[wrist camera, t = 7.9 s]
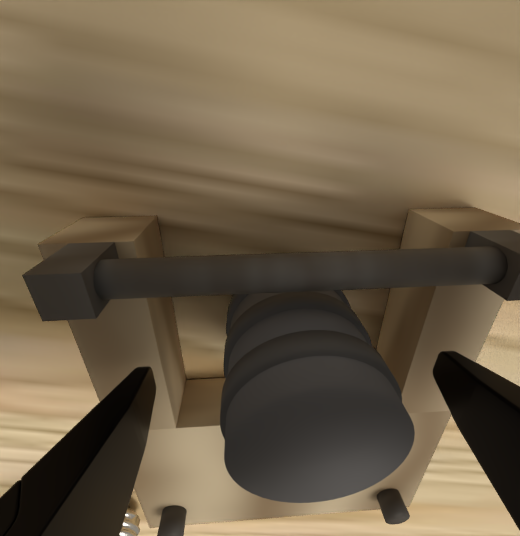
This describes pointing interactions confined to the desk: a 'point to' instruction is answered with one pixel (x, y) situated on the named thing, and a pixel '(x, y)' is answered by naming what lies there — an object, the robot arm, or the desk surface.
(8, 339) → the desk surface
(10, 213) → the desk surface
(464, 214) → the wooden handle frame
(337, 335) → the stacked grey discs
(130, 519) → the light bulb
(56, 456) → the robot arm
